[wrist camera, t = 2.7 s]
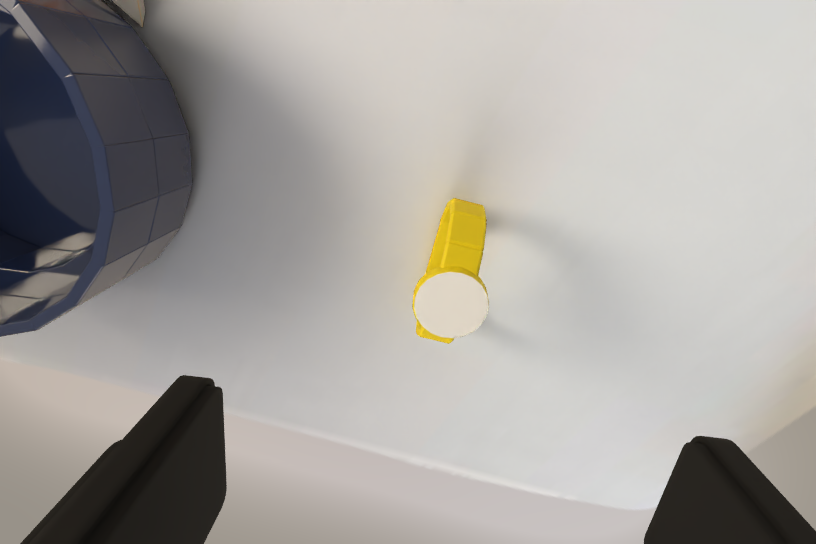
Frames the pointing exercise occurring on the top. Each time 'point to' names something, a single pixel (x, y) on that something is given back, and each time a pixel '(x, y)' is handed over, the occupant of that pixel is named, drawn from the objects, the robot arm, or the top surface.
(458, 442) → the top surface
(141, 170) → the navy bowl
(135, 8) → the fish
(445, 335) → the watch
